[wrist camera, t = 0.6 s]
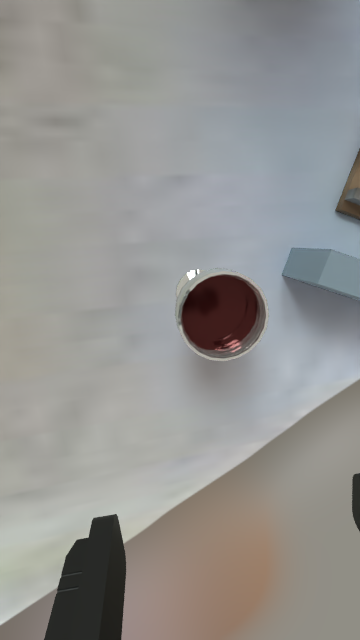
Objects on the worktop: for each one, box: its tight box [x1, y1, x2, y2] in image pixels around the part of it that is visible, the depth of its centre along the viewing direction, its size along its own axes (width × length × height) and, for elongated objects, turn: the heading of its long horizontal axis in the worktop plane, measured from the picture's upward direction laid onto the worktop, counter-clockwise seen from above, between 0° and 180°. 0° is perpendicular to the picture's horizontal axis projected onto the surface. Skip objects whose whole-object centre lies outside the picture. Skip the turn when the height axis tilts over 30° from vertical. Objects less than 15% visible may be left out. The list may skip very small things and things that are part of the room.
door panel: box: [282, 248, 360, 301], centre depth 33 cm, size 3×12×8 cm, turn 72°
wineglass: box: [175, 268, 269, 361], centre depth 30 cm, size 7×7×12 cm
